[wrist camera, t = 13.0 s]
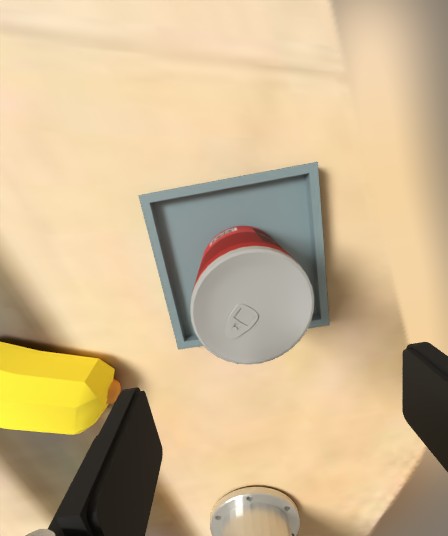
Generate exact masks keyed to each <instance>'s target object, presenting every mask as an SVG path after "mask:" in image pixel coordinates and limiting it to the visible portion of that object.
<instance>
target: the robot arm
mask: <svg viewBox="0 0 448 536" xmlns="http://www.w3.org/2000/svg"><path fill="white" fill-rule="evenodd" d="M403 415H404V417H405V419H406V421H407V423H408V424H409V425H410V426H411V428H412V429H413V430H414V431H415V433H416V434H417V435H418V436H419V437H420V439H421V440H422V441H423V442H424V444H425V445H426V446H427V447H428V449H429V450H430V451H431V452H432V453H433V455H434V456H435V457H436V458H437V460H438V461H439V462H440V463H441V465H442V466H443V467H444V468H445V469H446V471H447V472H448V356H447V355H445V354H444V353H442V352H441V351H440V350H438V349H437V348H436V347H434V346H433V345H431V344H430V343H428V342H422V343H415V344H409V345H408V346H407V348H406V349H405V350H404V351H403ZM161 461H162V445H161V442H160V439H159V436H158V432H157V429H156V426H155V423H154V419H153V416H152V413H151V410H150V406H149V403H148V400H147V397H146V394H145V392H144V391H140V389H139V388H131V389H125V390H122V391H121V392H120V394H119V396H118V398H117V400H116V402H115V404H114V406H113V408H112V410H111V412H110V414H109V415H108V417H107V419H106V421H105V423H104V425H103V427H102V429H101V431H100V433H99V435H98V436H96V438H95V439H94V441H93V443H92V445H91V447H90V449H89V450H88V452H87V454H86V456H85V458H84V460H83V462H82V464H81V466H80V468H79V470H78V472H77V474H76V476H75V477H74V479H73V481H72V483H71V485H70V487H69V489H68V491H67V493H66V495H65V497H64V499H63V501H62V503H61V504H60V506H59V508H58V510H57V512H56V514H55V516H54V518H53V520H52V522H51V524H50V526H49V528H48V529H40V530H37V531H34V532H32V533H29V534H28V535H26V536H145V533H146V528H147V524H148V519H149V515H150V510H151V506H152V502H153V497H154V493H155V488H156V484H157V479H158V475H159V470H160V466H161ZM299 528H300V517H299V513H298V509H297V507H296V505H295V503H294V502H293V501H292V499H290V498H289V497H288V496H287V495H285V494H283V493H282V492H280V491H277V490H274V489H271V488H266V487H246V488H242V489H238V490H235V491H233V492H231V493H229V494H227V495H226V496H224V497H223V498H222V499H220V500H219V501H218V502H217V504H216V505H215V506H214V508H213V510H212V512H211V518H210V529H211V533H212V536H296V535H297V533H298V532H299Z"/></svg>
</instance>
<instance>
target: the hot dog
mask: <svg viewBox="0 0 448 536" xmlns="http://www.w3.org/2000/svg"><path fill="white" fill-rule="evenodd" d="M114 372H115V369H114V368H113V367H111V366H109V365H108V364H106V363H105V362H103V361H102V360H100V359H99V358H91V357H84V356H76V355H68V354H60V353H53V352H45V351H38V350H34V349H30V348H25V347H21V346H17V345H13V344H8V343H4V342H0V427H1V428H5V429H15V430H26V431H38V432H49V433H60V434H72V435H73V434H80V433H81V432H83V431H84V430H86V429H87V428H89V427H90V426H92V425H93V424H95V422H96V421H97V420H98V418H99V417H100V416H101V414H102V413H103V411H104V410H105V409H106V407H107V406H108V405H109V404H111V403H114V402H115V401H116V399H117V398H118V396H119V394H120V392H121V387H120V383H119V382H118V381H116V380H115V379H113V377H114Z"/></svg>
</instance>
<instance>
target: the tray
mask: <svg viewBox="0 0 448 536" xmlns="http://www.w3.org/2000/svg"><path fill="white" fill-rule="evenodd" d="M139 199H140V203H141V207H142V211H143V215H144V219H145V222H146V226H147V230H148V234H149V238H150V242H151V246H152V250H153V253H154V257H155V261H156V265H157V269H158V273H159V277H160V280H161V284H162V288H163V292H164V296H165V300H166V304H167V307H168V311H169V315H170V319H171V323H172V327H173V331H174V334H175V338H176V342H177V346H178V350H179V349H185V348H191V347H197V346H204V345H203V344H202V343H201V342H200V340H199V339H198V337H197V335H196V334H195V331H194V328H193V325H192V322H191V313H190V310H191V309H190V306H191V296H192V293H193V288H194V285H195V281H196V278H197V274H198V271H199V268H200V264H201V261H202V258H203V254H204V251H205V249H206V248H207V246H208V244H209V243H210V242H211V240H212V239H213V238H214V237H215V236H217V235H218V234H219V233H221V232H222V231H224V230H226V229H228V228H232V227H235V226H252V227H255V228H258V229H260V230H262V231H264V232H265V233H267V234H268V235H269V236H270V237H271V238H272V239H273V240H274V241H275V242H277V243H278V244H279V245H280V246H281V247H282V248H283V249H284V250H285V251H286V252H287V253H288V254H290V255H291V256H292V257H293V258H294V259H295V260H296V261H297V262H298V263H299V265H300V266H301V267H302V269H303V270H304V271H305V273H306V275H307V276H308V278H309V281H310V283H311V285H312V289H313V294H314V311H313V315H312V319H311V322H310V324H309V326H308V328H314V327H321V326H327V325H330V322H329V309H328V295H327V282H326V268H325V254H324V241H323V227H322V214H321V200H320V186H319V173H318V162H314V163H309V164H303V165H298V166H293V167H287V168H282V169H277V170H271V171H266V172H261V173H255V174H250V175H244V176H239V177H234V178H228V179H223V180H218V181H212V182H207V183H202V184H196V185H191V186H186V187H180V188H175V189H170V190H164V191H159V192H154V193H148V194H143V195H139Z"/></svg>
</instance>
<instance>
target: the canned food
mask: <svg viewBox="0 0 448 536" xmlns="http://www.w3.org/2000/svg"><path fill="white" fill-rule="evenodd" d="M190 309H191V310H190V313H191V322H192V325H193V328H194V331H195V334H196V335H197V337H198V339H199V340H200V342H201V343H202V344H203V345H204V346H205V347H206V349H207V350H208V351H210V352H211V353H213V354H214V355H215V356H217V357H219V358H221V359H223V360H226V361H229V362H233V363H237V364H258V363H263V362H266V361H270V360H273V359H275V358H277V357H279V356H281V355H283V354H284V353H286V352H287V351H289V350H290V349H291V348H292V347H294V346H295V345H296V344H297V343H298V342H299V341H300V339H301V338H302V336H303V335H304V334H305V332H306V331H307V329H308V326H309V324H310V322H311V319H312V315H313V311H314V294H313V289H312V285H311V283H310V281H309V278H308V276H307V275H306V273H305V271H304V270H303V269H302V267H301V266H300V265H299V263H298V262H297V261H296V260H295V259H294V258H293V257H292V256H291V255H290V254H288V253H287V252H286V251H285V250H284V249H283V248H282V247H281V246H280V245H279V244H278V243H277V242H275V241H274V240H273V239H272V238H271V237H270V236H269V235H268V234H267V233H265V232H264V231H262V230H260V229H258V228H255V227H252V226H235V227H232V228H228V229H226V230H224V231H222V232H221V233H219V234H218V235H217V236H215V237H214V238H213V239H212V240H211V242H210V243H209V244H208V246H207V248H206V249H205V251H204V254H203V258H202V261H201V264H200V268H199V271H198V274H197V278H196V281H195V285H194V288H193V293H192V296H191V306H190Z"/></svg>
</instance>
